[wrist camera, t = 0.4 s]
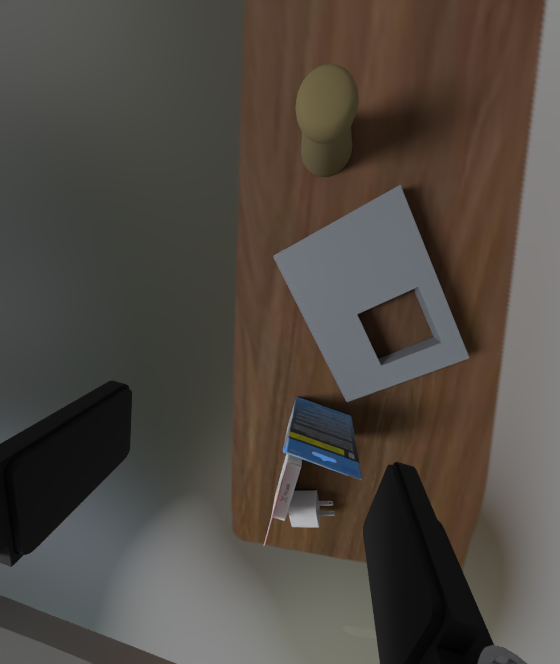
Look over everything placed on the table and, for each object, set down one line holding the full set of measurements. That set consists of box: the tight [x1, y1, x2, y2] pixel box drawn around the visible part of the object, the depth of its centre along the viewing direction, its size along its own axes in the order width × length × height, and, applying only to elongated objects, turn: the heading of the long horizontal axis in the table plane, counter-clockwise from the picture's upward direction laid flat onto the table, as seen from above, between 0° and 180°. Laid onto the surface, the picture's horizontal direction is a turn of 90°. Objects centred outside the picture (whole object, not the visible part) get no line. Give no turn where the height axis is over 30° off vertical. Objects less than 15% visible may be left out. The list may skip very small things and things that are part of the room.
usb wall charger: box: [288, 490, 335, 527], centre depth 44 cm, size 4×7×4 cm, turn 101°
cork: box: [296, 64, 358, 177], centre depth 26 cm, size 6×6×11 cm
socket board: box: [273, 185, 469, 402], centre depth 34 cm, size 16×22×2 cm
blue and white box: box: [283, 397, 362, 480], centre depth 35 cm, size 9×4×12 cm, turn 74°
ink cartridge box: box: [264, 454, 302, 546], centre depth 40 cm, size 2×11×10 cm, turn 168°
